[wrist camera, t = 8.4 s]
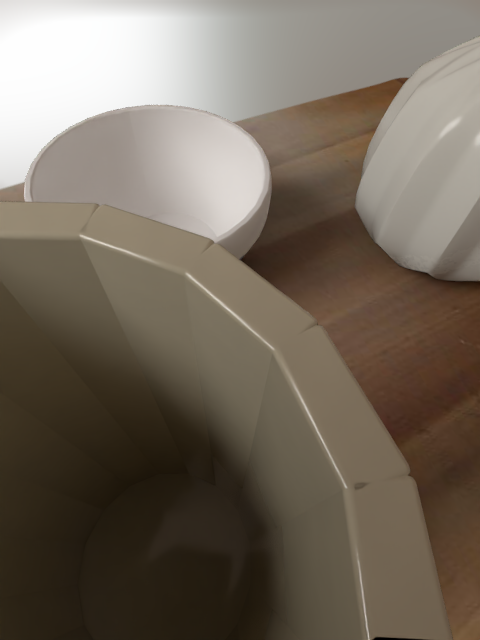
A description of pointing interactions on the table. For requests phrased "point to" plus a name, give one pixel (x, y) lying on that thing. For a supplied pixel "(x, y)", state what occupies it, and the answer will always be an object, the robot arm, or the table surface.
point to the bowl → (161, 171)
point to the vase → (429, 170)
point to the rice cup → (188, 450)
